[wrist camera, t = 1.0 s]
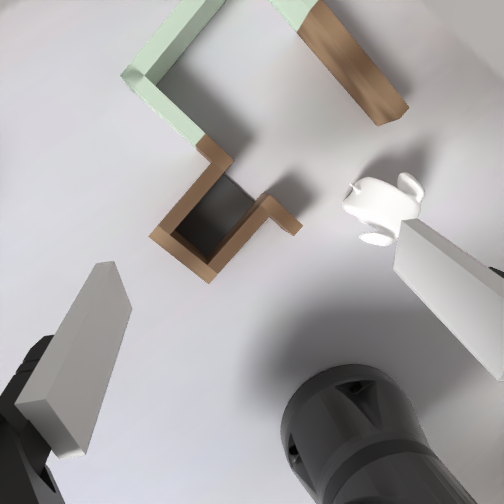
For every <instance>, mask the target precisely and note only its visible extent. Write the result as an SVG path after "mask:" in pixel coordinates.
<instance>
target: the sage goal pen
mask: <svg viewBox="0 0 504 504" xmlns="http://www.w3.org/2000/svg"><path fill="white" fill-rule="evenodd" d="M225 1H226V0H181V1H180V2H179V4H178V5H177V6H176V7H175V9H174V10H173V11H172V12H171V14H170V15H169V16H168V17H167V18H166V20H165V21H164V22H163V23H162V25H161V26H160V27H159V28H158V30H157V31H156V32H155V33H154V34H153V36H152V37H151V38H150V39H149V41H148V42H147V43H146V44H145V46H144V47H143V48H142V49H141V50H140V52H139V53H138V54H137V55H136V57H135V58H134V59H133V60H132V62H131V63H130V64H129V65H128V66H127V68H126V69H125V70H124V71H123V73H122V74H121V75H120V76H121V78H122V79H123V80H124V81H125V83H126V84H127V85H128V86H129V87H130V89H131V90H132V91H133V92H134V93H135V94H136V95H138V96H139V97H140V98H141V99H142V100H143V101H144V102H145V103H146V104H147V105H148V106H149V107H151V108H152V109H153V110H154V111H155V112H156V113H157V114H158V115H159V116H160V117H161V118H163V119H164V120H165V121H166V122H167V123H168V124H169V125H170V126H171V127H172V128H173V129H174V130H176V131H177V132H178V133H179V134H180V135H181V136H182V137H183V138H184V139H185V140H186V141H188V142H189V143H190V144H191V145H192V146H193V147H194V148H195V149H196V146H195V145H196V144H197V142H198V141H199V140H200V139H201V138H202V137H203V135H204V134H205V133H204V132H203V131H202V130H201V129H200V128H199V127H198V126H197V125H196V124H195V123H194V122H193V121H192V120H191V119H190V118H189V117H187V116H186V115H185V114H184V113H183V112H182V111H181V110H180V109H179V108H178V107H177V106H176V105H175V104H174V103H173V102H172V101H171V100H169V99H168V98H167V97H166V96H165V95H164V94H163V93H162V92H161V91H160V90H159V89H158V88H157V87H156V85H157V84H158V82H159V81H160V80H161V79H162V78H163V76H164V75H165V74H166V73H167V71H168V70H169V69H170V68H171V67H172V65H173V64H174V63H175V62H176V61H177V59H178V58H179V57H180V56H181V54H182V53H183V52H184V51H185V50H186V48H187V47H188V46H189V45H190V44H191V42H192V41H193V40H194V39H195V37H196V36H197V35H198V34H199V33H200V31H201V30H202V29H203V28H204V27H205V25H206V24H207V23H208V22H209V21H210V19H211V18H212V17H213V16H214V14H215V13H216V12H217V11H218V10H219V8H220V7H221V6H222V5H223V4H224V2H225ZM269 1H270V2H271V3H272V5H273V6H274V7H275V8H276V9H277V10H278V12H279V13H280V14H281V15H282V16H283V17H284V19H285V20H286V21H287V22H288V23H289V24H290V26H291V27H292V28H293V29H294V30H295V31H296V32H297V31H298V29H299V28H300V26H301V24H302V23H303V21H304V19H305V18H306V16H307V14H308V12H309V11H310V10H311V8H312V7H313V6H314V5H315V4H316V2H317V1H318V0H269ZM196 150H197V149H196Z"/></svg>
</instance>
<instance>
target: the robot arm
mask: <svg viewBox="0 0 504 504" xmlns="http://www.w3.org/2000/svg"><path fill="white" fill-rule="evenodd" d="M393 270H394V271H395V272H396V273H397V275H398V276H399V277H400V278H401V279H402V280H403V281H404V282H405V283H406V284H407V285H408V286H409V287H410V288H411V289H412V291H413V292H414V293H415V294H416V295H417V296H418V297H419V298H420V299H421V300H422V301H423V302H424V303H425V304H426V305H427V307H428V308H429V309H430V310H431V311H432V312H433V313H434V314H435V315H436V316H437V317H438V318H439V319H440V320H441V321H442V323H443V324H444V325H445V326H446V327H447V328H448V329H449V330H450V331H451V332H452V333H453V334H454V335H455V336H456V337H457V339H458V340H459V341H460V342H461V343H462V344H463V345H464V346H465V347H466V348H467V349H468V350H469V351H470V352H471V353H472V355H473V356H474V357H475V358H476V359H477V360H478V361H479V362H480V363H481V364H482V365H483V366H484V367H485V368H486V369H487V371H488V372H489V373H490V374H491V375H492V376H493V377H494V378H495V379H496V380H497V381H498V382H501V381H504V272H502V271H500V270H497V269H495V268H493V267H486V266H485V265H483V264H482V263H481V262H479V261H478V260H476V259H475V258H473V257H472V256H471V255H469V254H468V253H466V252H465V251H463V250H462V249H460V248H459V247H458V246H456V245H455V244H453V243H452V242H450V241H449V240H448V239H446V238H445V237H443V236H442V235H440V234H439V233H438V232H436V231H435V230H433V229H432V228H430V227H429V226H428V225H426V224H425V223H423V222H422V221H420V220H419V219H417V218H415V219H408V220H401V225H400V231H399V237H398V243H397V248H396V254H395V260H394V265H393ZM131 311H132V307H131V304H130V301H129V299H128V296H127V293H126V291H125V288H124V286H123V283H122V280H121V278H120V275H119V273H118V270H117V267H116V265H115V262H114V261H110V262H103V263H96V265H95V266H94V268H93V270H92V272H91V273H90V275H89V277H88V278H87V280H86V282H85V284H84V285H83V287H82V289H81V290H80V292H79V294H78V296H77V297H76V299H75V301H74V302H73V304H72V306H71V308H70V309H69V311H68V313H67V314H66V316H65V318H64V320H63V321H62V323H61V325H60V326H59V328H58V330H57V332H56V333H55V335H49V336H44V337H43V338H42V339H41V340H39V341H38V342H37V343H36V344H35V345H34V346H33V347H32V348H31V349H30V351H29V352H28V354H27V355H26V357H25V358H24V360H23V364H21V365H20V366H19V368H18V369H17V371H16V375H14V376H13V377H12V379H11V380H10V382H9V383H8V385H7V386H6V388H5V390H4V391H3V393H2V394H1V396H0V504H65V502H64V500H63V498H62V495H61V493H60V491H59V489H58V486H57V484H56V482H55V480H54V478H53V475H52V473H51V471H50V469H49V468H48V466H47V465H46V464H45V463H46V461H47V458H48V456H49V453H50V451H51V450H52V451H53V452H54V454H55V455H56V456H57V457H58V459H59V460H60V459H66V458H72V457H77V456H83V455H86V452H87V449H88V446H89V443H90V440H91V437H92V434H93V430H94V427H95V424H96V421H97V418H98V415H99V412H100V409H101V405H102V402H103V399H104V396H105V393H106V390H107V387H108V383H109V380H110V377H111V374H112V371H113V368H114V365H115V361H116V358H117V355H118V352H119V349H120V346H121V343H122V340H123V336H124V333H125V330H126V327H127V324H128V321H129V318H130V314H131ZM281 440H282V444H283V448H284V451H285V454H286V458H287V461H288V463H289V465H290V467H291V469H292V471H293V472H294V474H295V475H296V477H297V478H298V479H299V481H300V482H301V483H302V485H303V486H304V488H305V489H306V490H307V492H308V493H309V494H310V496H311V497H312V499H313V500H314V501H315V503H316V504H478V503H477V502H476V501H475V500H474V499H473V498H472V497H471V495H470V494H469V493H468V492H467V491H466V490H465V488H464V487H463V486H462V485H461V484H460V483H459V482H458V480H457V479H456V478H455V477H454V476H453V475H452V473H451V472H450V471H449V470H448V469H447V468H446V467H445V466H444V464H443V463H442V462H441V461H440V460H439V458H438V457H437V456H436V455H435V454H434V452H433V451H432V450H431V449H430V447H429V444H428V442H427V440H426V437H425V435H424V433H423V430H422V428H421V426H420V424H419V421H418V419H417V417H416V414H415V412H414V410H413V407H412V405H411V403H410V401H409V399H408V398H407V396H406V395H405V394H404V392H403V391H402V390H401V389H400V388H399V387H398V386H397V385H396V384H395V382H394V381H393V380H392V379H391V378H390V377H389V376H387V375H386V374H385V373H383V372H381V371H379V370H377V369H375V368H372V367H369V366H364V365H344V366H338V367H335V368H331V369H328V370H326V371H324V372H322V373H320V374H318V375H316V376H314V377H313V378H311V379H310V380H309V381H307V382H306V383H305V384H304V385H302V386H301V387H300V388H299V389H298V391H297V392H296V393H295V394H294V395H293V397H292V398H291V400H290V401H289V403H288V405H287V407H286V409H285V411H284V414H283V417H282V422H281Z"/></svg>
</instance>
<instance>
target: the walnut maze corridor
mask: <svg viewBox="0 0 504 504" xmlns="http://www.w3.org/2000/svg"><path fill="white" fill-rule="evenodd" d="M297 34H298V35H299V36H300V37H301V38H302V39H303V41H304V42H305V43H306V44H307V45H308V46H309V48H310V49H311V50H312V51H313V52H314V53H315V55H316V56H317V57H318V58H319V59H320V60H321V61H322V63H323V64H324V65H325V66H326V67H327V68H328V70H329V71H330V72H331V73H332V74H333V75H334V77H335V78H336V79H337V80H338V81H339V82H340V84H341V85H342V86H343V87H344V88H345V89H346V90H347V92H348V93H349V94H350V95H351V96H352V97H353V99H354V100H355V101H356V102H357V103H358V104H359V106H360V107H361V108H362V109H363V110H364V111H365V113H366V114H367V115H368V116H369V117H370V118H371V120H372V121H373V122H374V123H375V124H376V125H377V126H380V125H382V124H385V123H388V122H391V121H394V120H397V119H400V118H401V117H402V115H403V114H404V113H405V112H406V111H407V110H408V109H409V106H408V105H407V104H406V103H405V101H404V100H403V99H402V98H401V96H400V95H399V94H398V93H397V91H396V90H395V89H394V88H393V87H392V85H391V84H390V83H389V82H388V80H387V79H386V78H385V77H384V75H383V74H382V73H381V72H380V70H379V69H378V68H377V67H376V66H375V64H374V63H373V62H372V61H371V59H370V58H369V57H368V56H367V54H366V53H365V52H364V51H363V49H362V48H361V47H360V46H359V45H358V43H357V42H356V41H355V40H354V38H353V37H352V36H351V35H350V33H349V32H348V31H347V30H346V29H345V27H344V26H343V25H342V24H341V22H340V21H339V20H338V19H337V17H336V16H335V15H334V14H333V12H332V11H331V10H330V9H329V8H328V6H327V5H326V4H325V3H324V1H323V0H318V1H317V2H316V4H315V5H314V6H313V7H312V8H311V10H310V11H309V12H308V14H307V16H306V18H305V19H304V21H303V23H302V24H301V26H300V28H299V29H298V31H297ZM195 146H196V149H197V151H198V152H200V153H201V154H202V155H203V156H204V157H205V158H206V159H207V160H208V161H209V162H210V163H211V164H210V165H209V166H208V168H207V169H206V170H205V171H204V172H203V173H202V175H201V176H200V177H199V178H198V179H197V180H196V182H195V183H194V184H193V185H192V186H191V187H190V189H189V190H188V191H187V192H186V193H185V194H184V196H183V197H182V198H181V199H180V200H179V201H178V203H177V204H176V205H175V206H174V207H173V208H172V210H171V211H170V212H169V213H168V214H167V215H166V217H165V218H164V219H163V220H162V221H161V222H160V224H159V225H158V226H157V227H156V228H155V229H154V231H153V232H152V233H151V234H150V235H149V236H148V237H150V238H151V239H152V240H153V241H155V242H156V243H157V244H158V245H160V246H161V247H162V248H164V249H165V250H166V251H167V252H169V253H170V254H171V255H172V256H174V257H175V258H176V259H177V260H179V261H180V262H181V263H183V264H184V265H185V266H186V267H188V268H189V269H190V270H191V271H193V272H194V273H195V274H196V275H198V276H199V277H200V278H202V279H203V280H204V281H205V282H207V283H208V284H209V283H210V282H211V281H212V280H213V279H214V278H215V277H216V276H217V274H218V273H219V272H220V271H221V270H222V269H223V268H224V267H225V265H226V264H227V263H228V262H229V261H230V260H231V259H232V258H233V256H234V255H235V254H236V253H237V252H238V251H239V250H240V249H241V247H242V246H243V245H244V244H245V243H246V242H247V241H248V240H249V238H250V237H251V236H252V235H253V234H254V233H255V232H256V231H257V229H258V228H259V227H260V226H261V225H262V224H263V223H264V222H265V220H266V219H267V218H268V217H270V218H271V219H272V220H274V221H275V222H276V223H277V224H278V225H279V226H280V227H281V228H282V229H283V230H285V231H286V232H288V233H290V234H291V235H293V236H294V235H295V234H296V233H297V232H298V231H299V230H300V229H301V227H302V226H303V225H302V224H301V223H300V222H299V221H298V220H297V219H295V218H294V217H293V216H292V215H291V214H290V213H289V212H288V211H287V210H286V209H285V208H284V207H283V206H282V205H281V204H280V203H279V202H277V201H276V200H275V199H274V198H273V197H272V196H271V195H270V194H265V193H262V194H261V196H260V197H259V198H258V199H257V200H256V201H255V202H253V201H252V200H251V199H250V198H249V197H248V196H246V195H245V194H244V193H243V192H242V191H241V190H240V189H239V188H238V187H237V186H236V185H235V184H233V183H232V182H231V181H230V180H229V179H228V178H227V177H226V176H225V175H224V174H223V173H224V172H225V170H226V169H227V168H228V167H229V166H230V165H231V164H232V162H233V161H234V160H233V159H232V158H231V157H230V156H229V155H228V154H227V153H226V152H225V151H223V150H222V149H221V148H220V147H219V146H218V145H217V144H216V143H215V142H214V141H213V140H212V139H211V138H210V137H209V136H208V135H207V134H204V135H203V137H202V138H201V139H200V140H199V141H198V142H197V144H196V145H195Z"/></svg>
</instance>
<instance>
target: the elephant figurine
mask: <svg viewBox="0 0 504 504" xmlns="http://www.w3.org/2000/svg"><path fill="white" fill-rule="evenodd" d="M350 186H352V187H353V191H352V193H351V194H350V195H349V196H348V197H347V198H346V199H345V200H344V201H343V203H342V208H343V209H344V210H345V211H346V212H347V213H349V214H352V215H355V216H357V217H358V219H359V221H360V222H362V223H364V224H367V225H370V226H372V227H374V228H377V229H378V232H364V233H362V234H361V235H359V238H360V239H361V240H363V241H365V242H367V243H370V244H374V245H378V246H389V245H391V244H392V243H393V242H394V241H395V240H396V239H398V237H399V231H400V225H401V220H408V219H415V218H417V217H418V215H419V213H420V209H421V208H420V204H421V201H422V199H423V197H424V195H425V191H424V188H423V187H422V185H421V184H420V183H419V182H418V181H417V180H416V179H415V178H414V177H413V176H412V175H411V174H409V173H405V172H404V173H401V174H400V175H399V177H398V180H397V188H396V187H394V186H392V185H391V184H389V183H387V182H384V181H382V180H379V179H376V178H373V177H364V178H362V179H360V180H358V181H357V182H356V183H355V184H354V186H353V185H352V183H350Z"/></svg>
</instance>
